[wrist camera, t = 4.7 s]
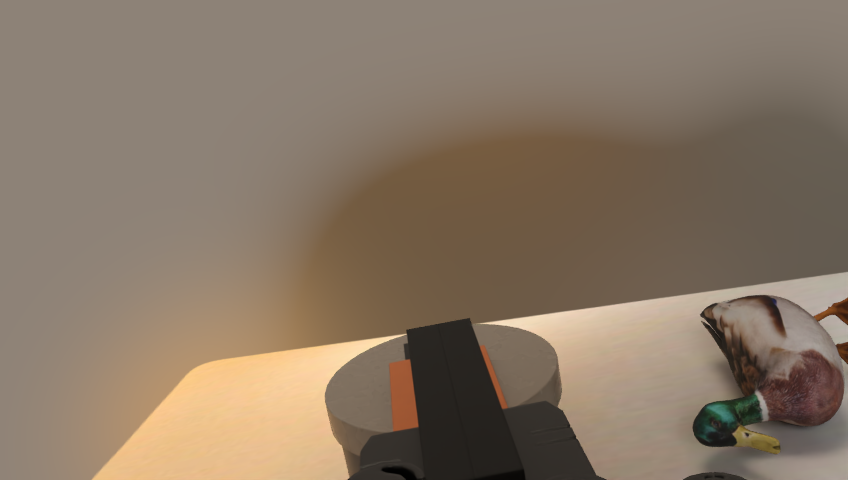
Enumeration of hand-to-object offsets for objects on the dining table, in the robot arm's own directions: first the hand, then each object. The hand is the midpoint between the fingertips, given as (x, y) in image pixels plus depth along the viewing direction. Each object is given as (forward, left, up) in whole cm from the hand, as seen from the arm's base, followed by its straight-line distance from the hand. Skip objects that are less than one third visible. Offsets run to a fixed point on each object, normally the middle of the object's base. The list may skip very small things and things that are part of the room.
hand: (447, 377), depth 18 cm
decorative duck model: (-34, -13, -21) cm, 42 cm away
